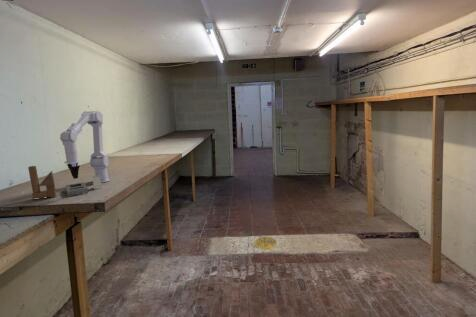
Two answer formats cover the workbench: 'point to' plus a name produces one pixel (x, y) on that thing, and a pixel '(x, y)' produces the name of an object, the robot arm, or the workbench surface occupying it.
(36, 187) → the wooden stand
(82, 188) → the socket plate
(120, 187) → the workbench surface
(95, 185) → the block
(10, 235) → the workbench surface
